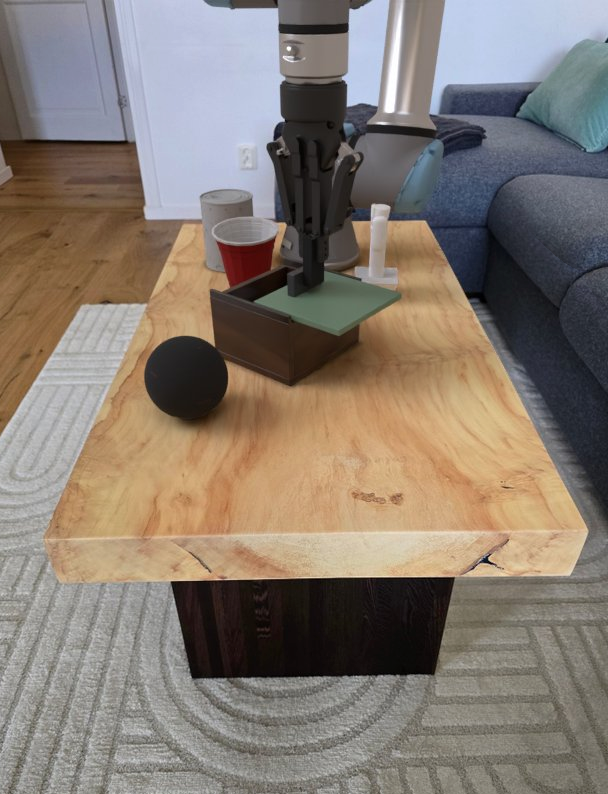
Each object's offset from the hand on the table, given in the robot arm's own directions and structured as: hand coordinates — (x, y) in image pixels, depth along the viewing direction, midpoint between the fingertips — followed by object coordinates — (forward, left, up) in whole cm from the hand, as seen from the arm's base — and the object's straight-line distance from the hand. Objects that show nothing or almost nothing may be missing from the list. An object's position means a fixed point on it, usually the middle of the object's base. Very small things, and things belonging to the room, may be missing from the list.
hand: (313, 283), depth 84 cm
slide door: (0, +3, -2) cm, 3 cm away
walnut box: (0, -5, -11) cm, 12 cm away
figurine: (-24, -5, -11) cm, 27 cm away
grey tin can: (-20, -36, -11) cm, 42 cm away
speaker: (+21, -3, -11) cm, 24 cm away
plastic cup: (-10, -22, -11) cm, 26 cm away
